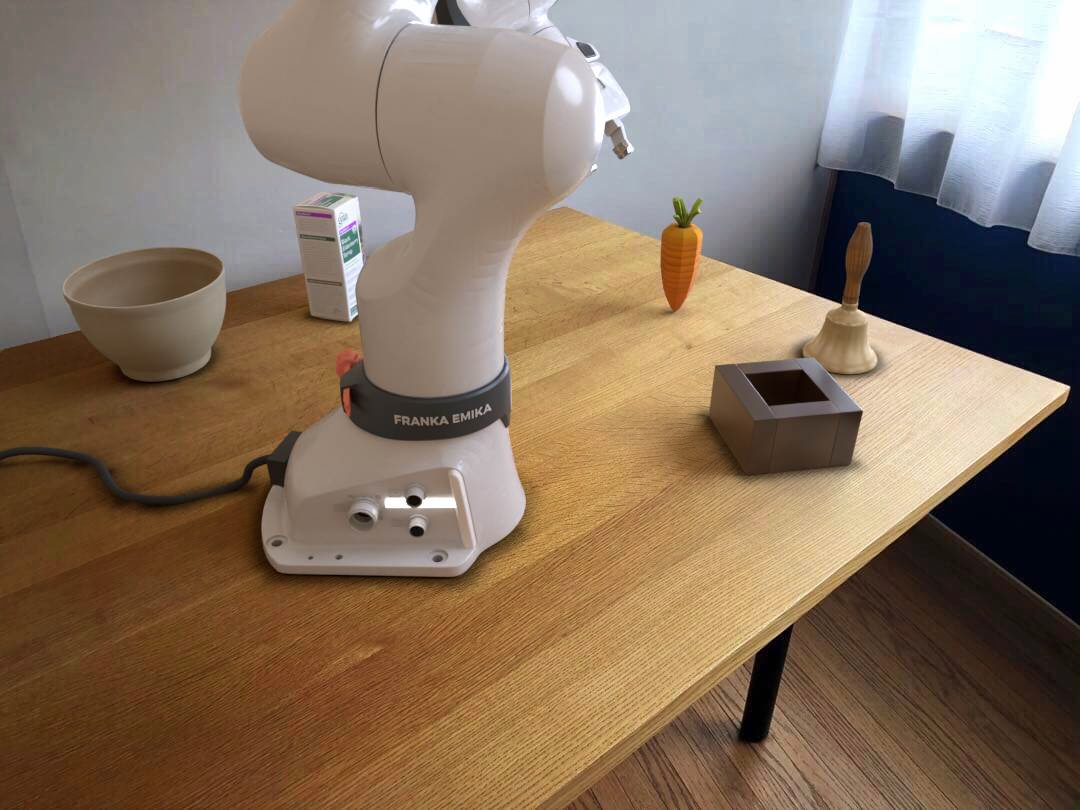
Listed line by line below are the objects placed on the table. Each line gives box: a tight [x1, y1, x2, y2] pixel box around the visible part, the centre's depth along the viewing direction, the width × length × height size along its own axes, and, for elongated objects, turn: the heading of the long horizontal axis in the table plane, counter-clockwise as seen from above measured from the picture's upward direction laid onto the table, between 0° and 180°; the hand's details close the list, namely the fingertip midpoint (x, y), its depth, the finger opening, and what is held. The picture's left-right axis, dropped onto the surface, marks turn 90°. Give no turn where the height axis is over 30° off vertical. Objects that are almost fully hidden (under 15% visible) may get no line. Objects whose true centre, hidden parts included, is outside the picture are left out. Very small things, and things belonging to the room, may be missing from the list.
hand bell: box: [802, 221, 878, 375], centre depth 95 cm, size 8×8×16 cm
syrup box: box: [292, 191, 367, 323], centre depth 106 cm, size 6×6×14 cm
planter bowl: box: [61, 246, 227, 383], centre depth 95 cm, size 16×16×11 cm
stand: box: [708, 357, 864, 476], centre depth 83 cm, size 10×10×6 cm
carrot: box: [659, 196, 704, 312], centre depth 106 cm, size 5×5×15 cm
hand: (609, 164), depth 105 cm, fingers open, 8 cm apart
